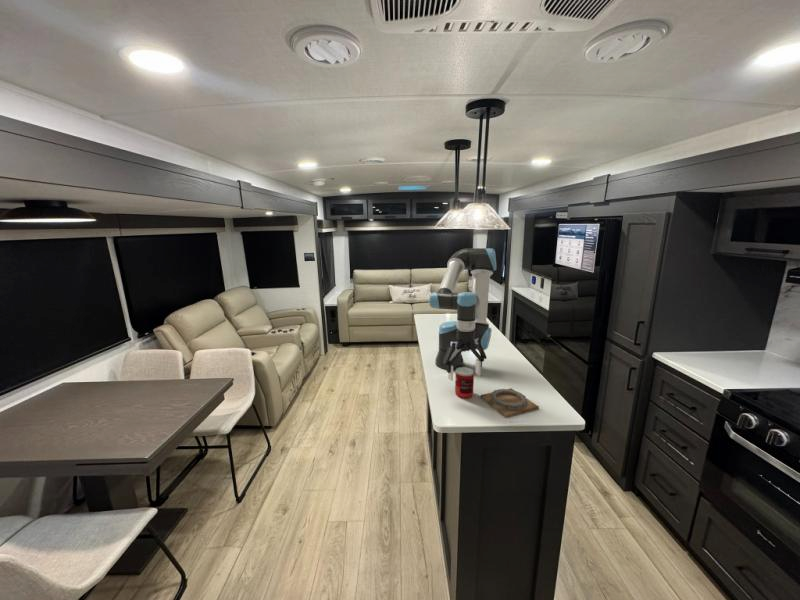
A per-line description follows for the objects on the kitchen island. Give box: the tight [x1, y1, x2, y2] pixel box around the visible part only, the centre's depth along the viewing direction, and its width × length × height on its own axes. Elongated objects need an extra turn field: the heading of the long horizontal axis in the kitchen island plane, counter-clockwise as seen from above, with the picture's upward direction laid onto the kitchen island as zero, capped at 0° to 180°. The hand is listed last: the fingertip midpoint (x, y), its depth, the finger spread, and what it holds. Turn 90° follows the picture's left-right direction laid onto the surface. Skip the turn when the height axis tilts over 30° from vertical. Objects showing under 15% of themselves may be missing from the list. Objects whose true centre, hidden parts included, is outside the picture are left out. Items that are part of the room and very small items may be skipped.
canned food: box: [454, 366, 475, 399], centre depth 130 cm, size 8×8×11 cm
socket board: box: [480, 387, 540, 419], centre depth 123 cm, size 16×16×3 cm
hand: (464, 377), depth 129 cm, fingers open, 13 cm apart
